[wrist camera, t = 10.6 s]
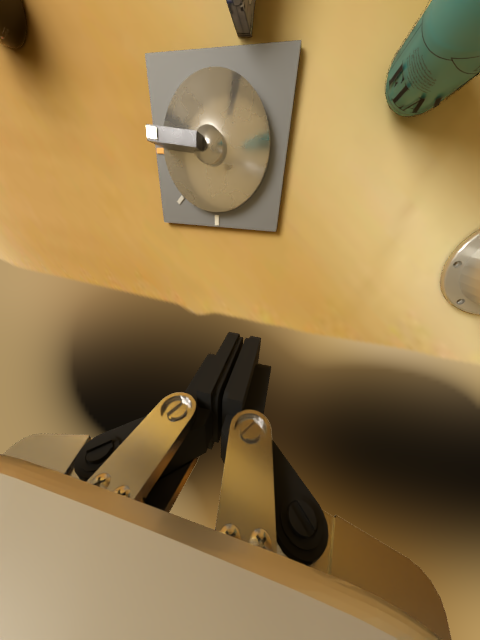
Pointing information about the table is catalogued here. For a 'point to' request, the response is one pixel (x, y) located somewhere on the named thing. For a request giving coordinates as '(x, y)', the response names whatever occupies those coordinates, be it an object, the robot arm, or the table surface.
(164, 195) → the dial plate
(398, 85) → the beverage bottle
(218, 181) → the dial
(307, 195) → the table surface
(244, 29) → the mini dv tape
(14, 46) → the supplement bottle
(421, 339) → the table surface
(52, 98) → the table surface
